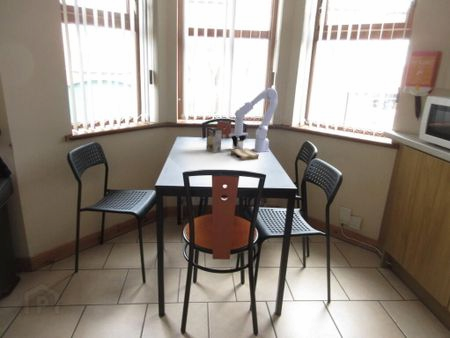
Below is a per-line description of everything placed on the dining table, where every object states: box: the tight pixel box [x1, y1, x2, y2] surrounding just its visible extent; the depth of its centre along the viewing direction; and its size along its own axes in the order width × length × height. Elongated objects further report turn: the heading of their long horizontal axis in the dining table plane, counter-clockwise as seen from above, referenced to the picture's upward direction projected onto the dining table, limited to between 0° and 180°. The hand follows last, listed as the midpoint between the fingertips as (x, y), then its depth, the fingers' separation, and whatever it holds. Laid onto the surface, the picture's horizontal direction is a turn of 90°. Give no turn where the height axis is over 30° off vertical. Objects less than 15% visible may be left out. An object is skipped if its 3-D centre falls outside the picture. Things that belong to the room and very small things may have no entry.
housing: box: [231, 137, 244, 149], centre depth 222 cm, size 4×8×7 cm, turn 28°
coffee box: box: [205, 126, 223, 154], centre depth 214 cm, size 9×6×16 cm
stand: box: [230, 148, 260, 161], centre depth 207 cm, size 12×16×3 cm
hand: (237, 146), depth 222 cm, fingers closed on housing, 4 cm apart
